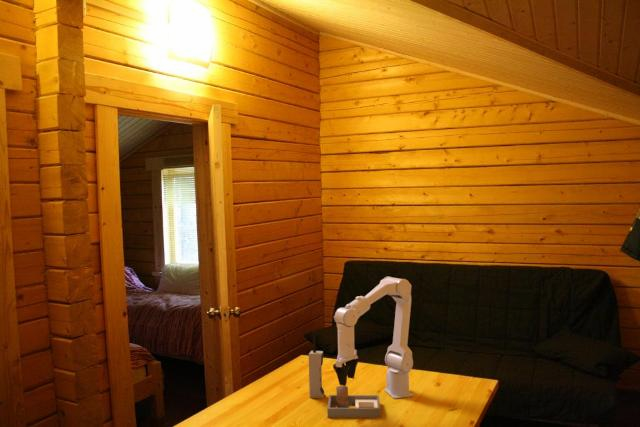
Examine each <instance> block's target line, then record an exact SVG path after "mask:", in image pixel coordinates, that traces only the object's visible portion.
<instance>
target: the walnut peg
mask: <svg viewBox="0 0 640 427" xmlns="http://www.w3.org/2000/svg"><path fill="white" fill-rule="evenodd" d="M335 389H336V395H337V404H336V408H349V404H348V395H349V387H348V386H347V385H345V386H343V385H338V386H336V388H335Z"/></svg>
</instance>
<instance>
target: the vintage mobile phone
mask: <svg viewBox="0 0 640 427" xmlns="http://www.w3.org/2000/svg"><path fill="white" fill-rule="evenodd" d="M312 333H313V334H312V335H313V338H312V339H313V344H312V347H313V348H312V349H313V350H310V352H309V353H308V378H309V379H308V381H309V382H308V386H309V387H308V388H309V390H308V391H309V398H311V399H312V398H315V399H323V397H324V396H325V390H324V387H323V380H322V379H323V378H322V376H323V375H322V374H323V373H322V366H323V364H324V350H323V351H322V350H316V349H317V348H316V345H317V344H316V330H313V331H312Z"/></svg>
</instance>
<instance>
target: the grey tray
mask: <svg viewBox="0 0 640 427" xmlns="http://www.w3.org/2000/svg"><path fill="white" fill-rule="evenodd" d="M380 402H381V401H380V395H379V394H348V405H354V406H355V407H348V408H337V407H332V405H337V394H330V395H328V401H327V409H326V410H327V411H326V412H327V413H326V414H327V418H376V419H377V418H379V419H380V418H381V416H382V415H381V414H382V412H381V403H380Z"/></svg>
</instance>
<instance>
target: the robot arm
mask: <svg viewBox="0 0 640 427" xmlns="http://www.w3.org/2000/svg"><path fill="white" fill-rule="evenodd" d="M412 287H413V286H412V284H411V283H410V282H409V280H407V279H406V278H400V277H399V278H397V277H392V276H385V277H384V278H383V279H381V280H380V281H379V284H377V285H376V286H375V287H374V288H373V289H372V290H370V292H368V293H367V294H366V295H364V296H363V295H360V296H356V297H355V299H354V300H352V301H350V302H349V303H347V304H346V305H345V306H344V307H338V308H337V309H336V311H335V313H334V316H333V319H334V322H335V323H336V328H337V357H336V360H335V363H334V364H333V365H332V368H333V370H334V372H335V373H336V376H337V380H338V384H339V386H347V381H348V379H354V378H355V375H356V374H355V373H356V372H357V370H356V369H357V366H358V364H359V361H360V356H358V355H357V349H355V325H356V324H357V322H358V319H360V317H361V316H363V315H364V314H365V313H367V312H368V311H369V310H370V309H371V304H373V303H375V302H377V301H378V300H380V299H382V298H383V297H384V296H386V295H387V296H390V297H391V298H392V299H393V300H394V302H396V305H395V312H394V314H395V315H394V316H395V317H394V326H393V333H392V334H393V336H392V344H391V345H389V346H388V347H387V352H386V354H385V357H384V363H385V365H386V367H387V371H386V388H384V391H385V392H386V393H387V394H388V395H389V396H390V397H391V398H393V399H401V398H409V397H413V396H414V394H413V393H412V392H411V391H410V372H411V371H412V369H413V366H414V360H413V359H414V358H413V352H412V350H411V349H410V347H409V346H408V343H409V342H408V341H409V330H410V321H411V320H410V318H411V309H412V308H411V307H412V294H411V293H412Z"/></svg>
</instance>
